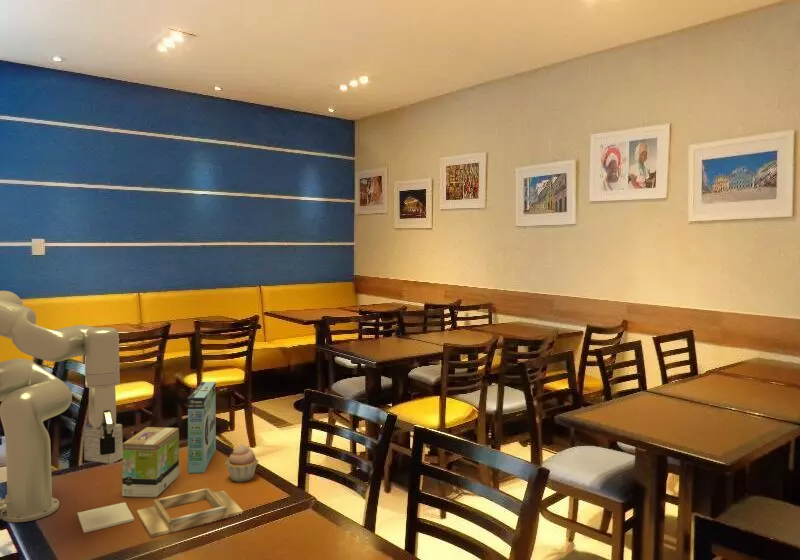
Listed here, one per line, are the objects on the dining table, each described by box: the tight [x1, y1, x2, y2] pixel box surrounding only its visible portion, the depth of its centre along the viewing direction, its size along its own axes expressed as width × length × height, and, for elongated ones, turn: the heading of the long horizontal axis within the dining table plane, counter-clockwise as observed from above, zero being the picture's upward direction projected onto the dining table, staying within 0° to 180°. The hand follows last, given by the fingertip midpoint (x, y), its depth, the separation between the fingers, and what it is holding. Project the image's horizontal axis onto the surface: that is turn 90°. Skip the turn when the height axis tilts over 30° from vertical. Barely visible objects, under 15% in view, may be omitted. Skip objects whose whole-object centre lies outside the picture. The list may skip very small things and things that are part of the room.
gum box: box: [187, 381, 217, 474], centre depth 187 cm, size 20×5×23 cm, turn 7°
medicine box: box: [83, 423, 124, 465], centre depth 148 cm, size 8×4×9 cm, turn 73°
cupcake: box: [225, 443, 259, 483], centre depth 175 cm, size 9×9×10 cm
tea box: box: [121, 426, 180, 498], centre depth 168 cm, size 15×10×15 cm, turn 179°
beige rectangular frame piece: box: [136, 487, 244, 539], centre depth 152 cm, size 22×15×3 cm
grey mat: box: [77, 501, 135, 534], centre depth 149 cm, size 11×11×1 cm
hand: (104, 447), depth 148 cm, fingers closed on medicine box, 9 cm apart
